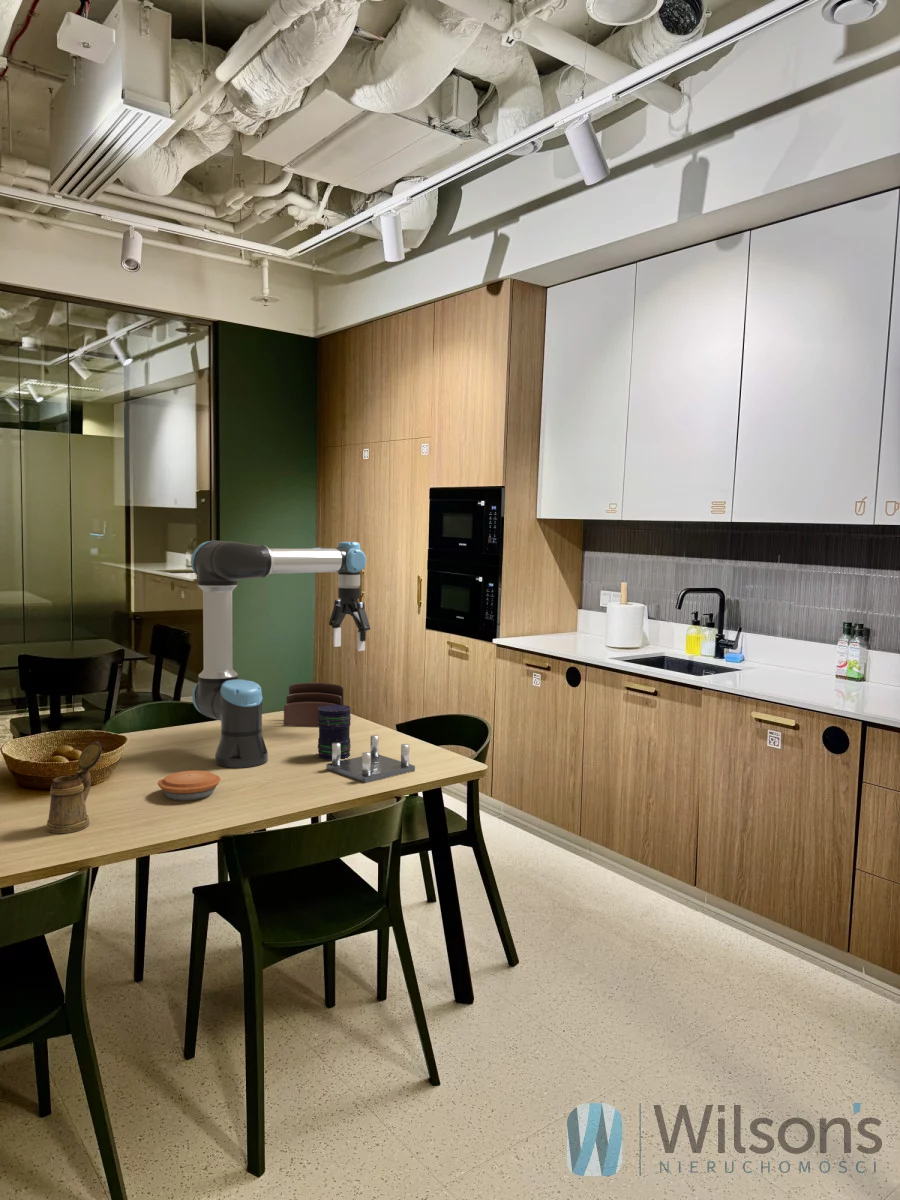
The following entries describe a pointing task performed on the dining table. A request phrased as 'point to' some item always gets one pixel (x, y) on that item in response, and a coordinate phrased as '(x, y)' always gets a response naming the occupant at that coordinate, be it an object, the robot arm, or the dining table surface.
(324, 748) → the storage jar
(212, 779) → the pie
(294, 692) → the letter holder
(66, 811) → the wooden mug
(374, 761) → the post base
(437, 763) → the dining table surface
